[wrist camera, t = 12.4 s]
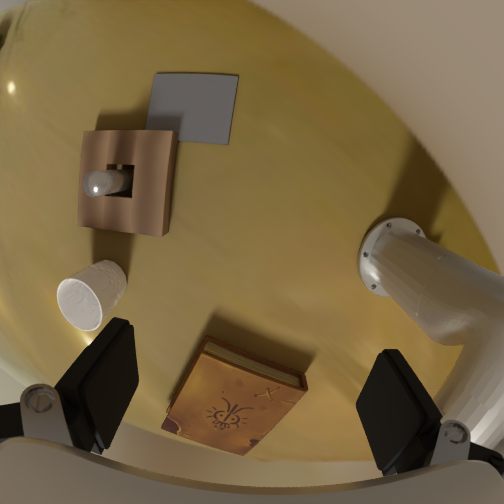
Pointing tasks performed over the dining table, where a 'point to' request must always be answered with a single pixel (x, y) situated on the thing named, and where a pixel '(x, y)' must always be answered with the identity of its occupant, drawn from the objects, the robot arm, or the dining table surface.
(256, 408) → the diary
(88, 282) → the white cup
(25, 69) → the dining table surface
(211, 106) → the mat
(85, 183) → the peg
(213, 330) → the dining table surface
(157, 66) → the dining table surface
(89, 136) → the hole block
